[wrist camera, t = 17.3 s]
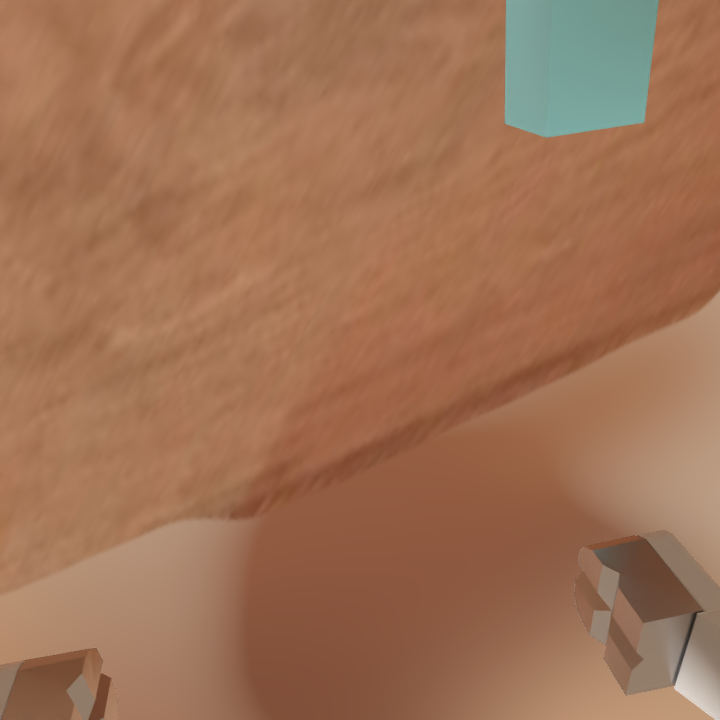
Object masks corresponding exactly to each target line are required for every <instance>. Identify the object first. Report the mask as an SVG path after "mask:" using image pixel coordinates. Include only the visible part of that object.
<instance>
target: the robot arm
mask: <svg viewBox="0 0 720 720" xmlns="http://www.w3.org/2000/svg"><path fill="white" fill-rule="evenodd" d="M578 563H579V565H580V566H581V568H582V569H583V572H582V573H581V574H580V575H579V576H578V577H577V579H576V580H575V587H574V597H575V602H576V607H577V610H578V613H579V615H580V618H581V620H582V623H583V624H584V626H585V628H586V630H587V631H588V633H589V635H590V636H592V637H593V638H595V639H597V640H598V641H600V642H602V643H603V644H605V651H604V660H605V662H606V663H607V665H608V667H609V669H610V670H611V672H612V673H613V675H614V677H615V679H616V680H617V682H618V684H619V685H620V687H621V689H622V690H623V692H624V694H625V695H626V696H627V695H631V694H636V693H641V692H646V691H651V690H655V689H660V688H665V687H670V686H675V687H674V689H675V690H677V691H678V692H679V693H681V694H682V695H683V696H685V697H686V698H687V699H689V700H690V701H691V702H693V703H694V704H695V705H696V706H698V707H699V708H701V709H702V710H703V711H704V712H706V713H707V714H708V715H710V716H711V717H713V718H714V719H715V720H720V587H719V586H718V584H717V583H716V582H715V581H714V580H713V579H712V578H711V577H710V576H709V574H708V573H707V572H706V571H705V570H704V569H703V568H702V567H701V565H700V564H699V563H698V562H697V561H696V560H695V559H694V557H693V556H692V555H691V554H690V553H689V552H688V551H687V550H686V548H685V547H684V546H683V545H682V544H681V543H680V542H679V541H678V539H677V538H676V537H675V536H674V535H673V534H672V533H670V532H668V531H666V530H662V531H656V532H652V533H647V534H642V535H638V536H630V537H625V538H620V539H616V540H611V541H607V542H602V543H598V544H594V545H589V546H584V547H583V548H582V550H581V551H580V553H579V559H578ZM102 664H103V659H102V658H101V656H100V654H99V652H98V650H97V648H91V649H85V650H80V651H74V652H68V653H63V654H57V655H52V656H46V657H41V658H35V659H29V660H24V661H19V662H14V663H9V664H3V665H0V720H118V699H117V693H116V688H115V686H114V684H113V682H112V679H111V678H110V677H108V676H106V675H104V674H102V673H101V669H102Z"/></svg>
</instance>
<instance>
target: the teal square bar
mask: <svg viewBox="0 0 720 720" xmlns="http://www.w3.org/2000/svg"><path fill="white" fill-rule="evenodd" d="M658 2H659V0H506V67H505V124H507V125H510V126H513V127H516V128H519V129H522V130H525V131H528V132H531V133H534V134H537V135H540V136H543V137H552V136H559V135H565V134H572V133H579V132H585V131H592V130H598V129H605V128H611V127H618V126H625V125H631V124H638V123H644V119H645V111H646V102H647V94H648V86H649V77H650V69H651V61H652V52H653V44H654V36H655V27H656V19H657V10H658Z"/></svg>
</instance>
